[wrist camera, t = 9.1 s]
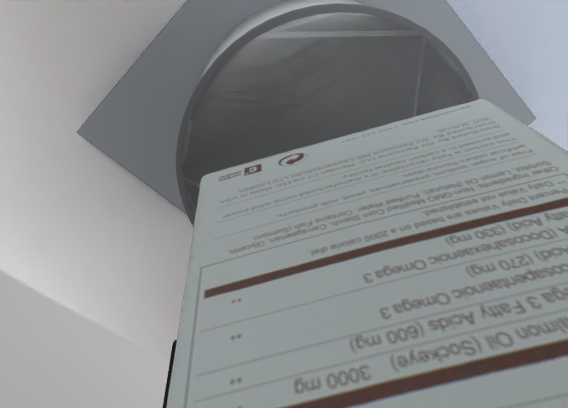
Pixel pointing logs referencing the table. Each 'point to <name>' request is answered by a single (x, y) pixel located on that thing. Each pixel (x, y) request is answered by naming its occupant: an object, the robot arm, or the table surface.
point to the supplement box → (383, 272)
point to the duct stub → (285, 83)
